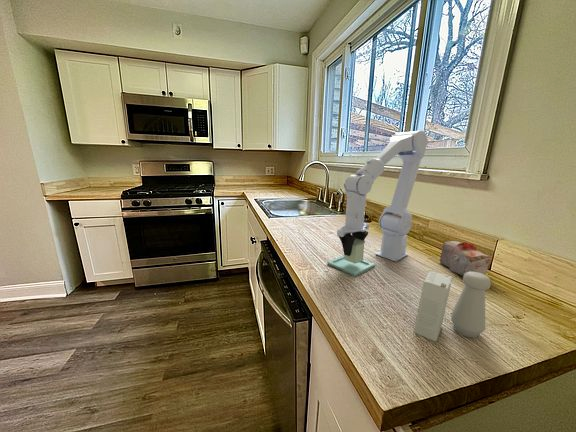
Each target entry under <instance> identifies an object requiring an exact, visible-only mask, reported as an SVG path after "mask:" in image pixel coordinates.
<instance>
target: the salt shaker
mask: <svg viewBox="0 0 576 432" xmlns="http://www.w3.org/2000/svg"><path fill="white" fill-rule="evenodd" d="M462 281H463V283H464V284H465V285H464V286H463V288H462V291H461V292H460V294H459V297H458V299H457V301H456V304H455V306H454V307H453V310H452V311H451V314H450V315H451V316H450V321H451V323H452V324H453V328H454V330H455V332H456V333H458V334H460V335H462V336H463V337H465V338H471V339H476V338H477V337H478V336H479V335H480V334H482V333H483V332H484V331H485V330H486V291H487V290H489V289H490V287H491V285H492V283H491V282H492V281H491V278H490V277H489V276H487V275H486V274H485V275H484V274H482V273H478V272H467V273H465V274H464V277H463V276H462Z"/></svg>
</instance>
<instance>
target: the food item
mask: <svg viewBox="0 0 576 432" xmlns="http://www.w3.org/2000/svg"><path fill="white" fill-rule="evenodd" d="M477 249H478V247H477V246H476V245H475V244H474V243H469V242H467V241H465V242H460V241H455V240H451V241H450V240H447V241H444V242H443V243H442V247H441V254H440V258H439V263H440V264H442V265H444V266H446V267H447V268H449V271H451V272H453V273H456V274H458V275H460V276H461V277H462V278H463V277H464V274H465V273H467V272H478V273H482V274H484V275H486V274H487V272H488V269H489V266H490V262H491V259H492V256H490V255H487V254H485V253H483V252H481V251H479V250H477Z"/></svg>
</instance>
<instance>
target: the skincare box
mask: <svg viewBox="0 0 576 432" xmlns="http://www.w3.org/2000/svg"><path fill="white" fill-rule="evenodd" d="M452 282H453V276H450V275H446V274H444V273H438V272H435V271H429V272H428V274H427V275H426V277H425V279H424V281H423V285H422V289H421V294H420V299H419V302H418V303H419V304H418V308H417V314H416V319H415V324H414V330H413V332H414V333H415V334H418V335H420V336H422V337H423V338H425V339H429V340H431V341H433V342H437V341H438V338H439V335H440V332H441V328H442V326H443V322H444V317H445V313H446V308H447V304H448V299H449V296H450V290H451V285H452Z"/></svg>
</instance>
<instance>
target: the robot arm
mask: <svg viewBox="0 0 576 432" xmlns="http://www.w3.org/2000/svg"><path fill="white" fill-rule="evenodd" d="M388 141H389V142H388V144H387V145H386V146H385V147H384V148H383V149H382V151H381V152H380V153H379V154H378V155H377V156H376V157H372V158H369V159H367V160H366V161H365V164H364V165H362V166H361V167H360V168H359V169H358V170H356V172H355V174H351V175H348V177H347V178H346V179H345V182H344V183H343V188H344V191H345V196H346V205H345V206H346V207H345V219H344V220H345V222H344V225H343V226H342V227H340V228H338V229H337V230H336V236H337V237H338V238H339V240H340V243H341V244H342V245H341V246H342V250H343V255H344V254H345V255H347V256H350V255H351V251H352V246H353V243H354V241H355V239H356V238H357V239H360V240H364V241H365V239H366V238H367V236H369V231H367V230H369V229H370V223H368V222H365V211H366V201H367V200H366V199H367V194H368V193H370V191H372V186H373V185H374V183H375V181H376V180H377V179H378V178H379V176H381V174H383V173H384V171H385V165H386V164H388V163H389V162H390V161H391V160H392V159H393V158H395V157H396V156H397V157H398V158H399V159H400V160H401V161H402V166H401V169H400V172H399V175H398V180H397V183H396V186H395V190H394V193H393V196H392V200H391V203H390V204H389V205H388V206H387V207H385V208H384V209H383V211H382V213H381V215H380V216H379V218H378V226H379V228H380V231H381V232H382V235H381V236H382V237H381V245H380V251H377V252H375V255H376V256H379V257H381V258H385V259H388V260H390V261H393V262H397V261H399V260H401V259H403V258H405V257H407V256H408V255H409V254H408V253H406V250H407V243H408V236H407V234H408V233H409V232H410V231H411V229H412V219H413V214H412V213H411V212H410V210H409V209H408V206H409V202H410V198H411V195H412V193H413V192H412V191H413V188H414V186H415V182H416V178H417V174H418V172H419V169H420V165H421V162H422V159H423V158H424V157H425V153H426V150H427V146H428V143H429V140H428V136H427V133H426V132H425V130H422V129H419V130H416V131H405V132H399V131H398V132H395V133H394V134H393V135H391V137H390V138H389V140H388Z"/></svg>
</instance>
